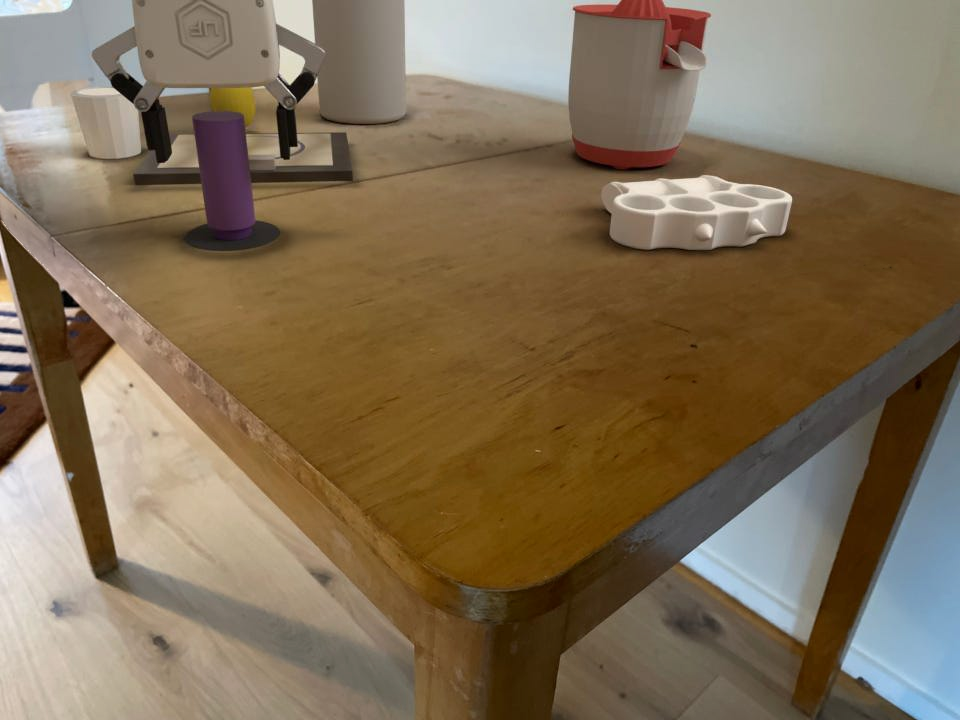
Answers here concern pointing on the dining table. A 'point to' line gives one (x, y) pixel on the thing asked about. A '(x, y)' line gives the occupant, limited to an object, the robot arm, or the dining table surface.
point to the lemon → (234, 101)
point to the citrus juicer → (633, 80)
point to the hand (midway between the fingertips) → (226, 157)
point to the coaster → (206, 240)
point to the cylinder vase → (361, 60)
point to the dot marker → (225, 173)
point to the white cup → (107, 122)
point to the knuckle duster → (694, 213)
